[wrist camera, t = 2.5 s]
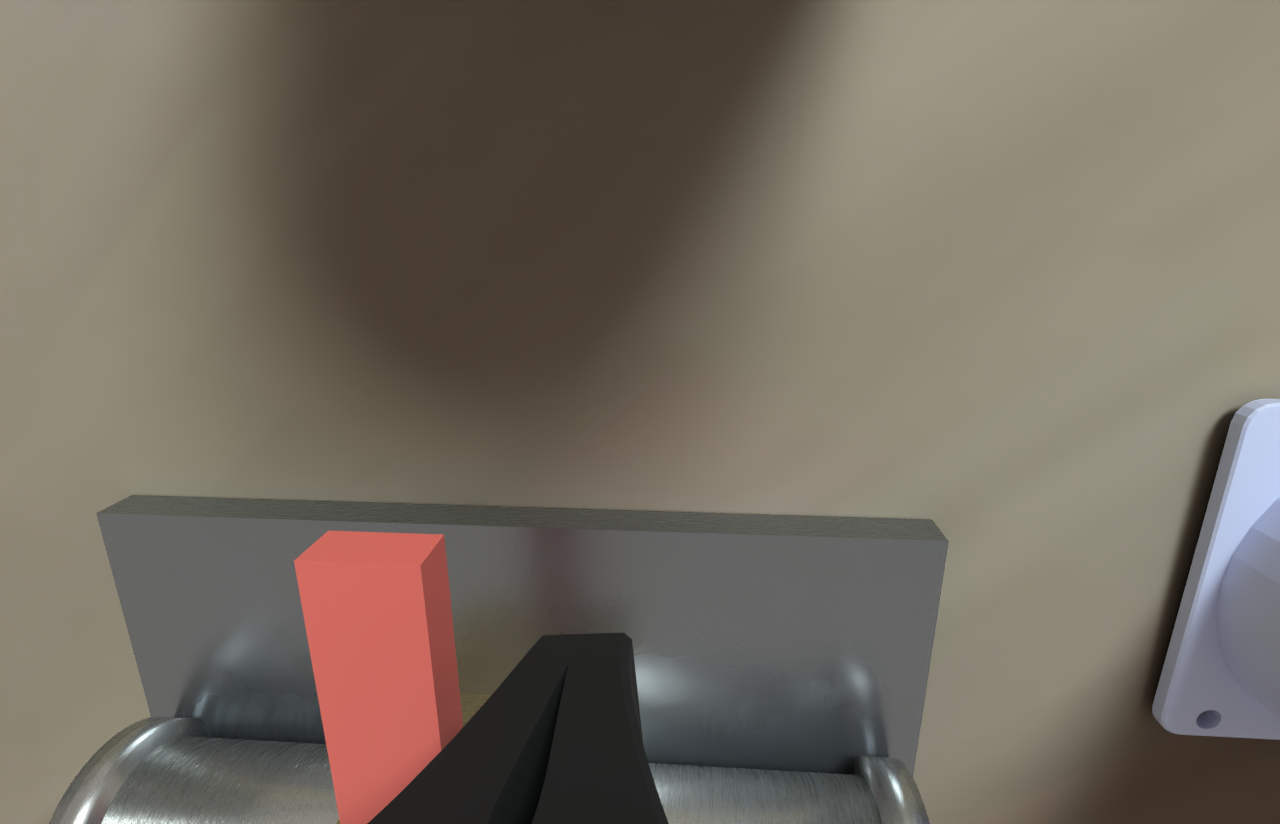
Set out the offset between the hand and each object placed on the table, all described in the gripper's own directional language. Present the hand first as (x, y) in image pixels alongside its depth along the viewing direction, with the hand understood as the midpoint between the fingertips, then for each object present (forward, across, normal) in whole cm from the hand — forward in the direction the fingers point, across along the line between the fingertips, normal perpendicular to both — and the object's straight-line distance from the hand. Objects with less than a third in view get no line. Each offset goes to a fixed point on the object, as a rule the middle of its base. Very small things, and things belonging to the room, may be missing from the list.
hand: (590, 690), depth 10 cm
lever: (0, +3, +3) cm, 4 cm away
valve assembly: (+6, +3, +7) cm, 9 cm away
